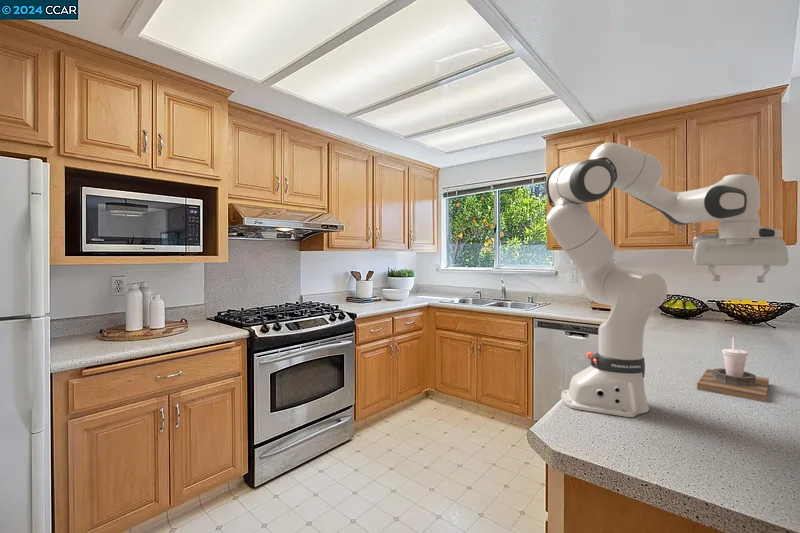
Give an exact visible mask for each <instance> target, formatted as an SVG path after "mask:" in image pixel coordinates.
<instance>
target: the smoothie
mask: <svg viewBox="0 0 800 533" xmlns="http://www.w3.org/2000/svg"><path fill="white" fill-rule="evenodd" d="M735 340H736V339H735V336H732V345H731V346H732V348H723V349H722V350H721V354H723V362H724V369H725V370H726V375H731V376H737V377H743V373H744V372H745V371H744V370H745V366H746V360H747V356H749V353H748V351H746V350H743V349H742V350H741V349H736V346H735V345H736V344H735V342H736V341H735Z"/></svg>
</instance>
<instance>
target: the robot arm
mask: <svg viewBox="0 0 800 533" xmlns="http://www.w3.org/2000/svg"><path fill="white" fill-rule="evenodd" d="M663 167H664V166H663V163H662V162H661V160H659V159H658V158H657V157H656V156H654V155H652V154H650V153H648V152H645V151H643V150H641V149H638V148H635V147H631V146H629V145H625V144H620V143H615V142H604V143H602V144H600V145H598V146H597V147H596V148H595V149H593V151H592V152H591V154H590V157H589V158H588V159H586V160H581V161H580V160H579V161H573V162H570V163H569V162H568V163H566V164H564V165H563V164H562V165H560V166H558V167H556V168H554V169H553V170H552V171H550V173H549V174H548V175H547V177H545V178H546V179H545V182H544V188H545V193H546V195H547V199H548V204H549V205H550V206H551V207H552V208H550V210H549V212H548V213H547V215H546V224H547V226H548V229H549V231H550V233H551V235H552V236H553V237H554V240H556V242H557V243H558V245H559V246H560V248H562V250H563V251H564V253H565V254H566V255H567V256H568V258H569V259H570V260H571V262H572V263H573V264H574V265H575V267H576V268H577V269H578V272H579V273H580V275H581V278H582V279H581V283H580V287H581V288H580V289H581V291H582V294H583V295H584V296H585V298H587V299H588V300H590V301H592V302H595V303H597V304H600V305H605V306H610V307H611V308H610V312H609V315H608V317H607V320H605V321H603V322H602V323H601V324H600V325H599V326H598V330H597V331H598V336H597V337H598V344H597V346H598V347H597V350H598V351H597V352H596V353H595V354H594V353H593V352H592V351H588V352H587V353H586V357H587V359H588V360H590V365H589V366H587V367H586V368H584V369H583V370H581V371H579V372H577V373H576V374H574V375H573V376H572V377H571V379H570V383H569V388H568V389H564V390H562V391H561V394H560V398H561V400H562V399H563V400H562V402H563V404H565V406H567V407H569V408H571V409H573V410H582V411H586V412H593V413H599V414H605V415H613V416H619V417H626V418H634V417H637V415H640V414H644V413H648V412H649V410H650V406H649V402H648V400H647V396H646V395H647V394H646V391H645V390H646V389H645V382H644V378H645V375H646V374H645V373H646V363H645V358H644V355H643V354H644V333H645V329H646V324H647V322H648V320H649V318H650V316H651V314H652V313H653V312H654V311H655V310H656V309H657V308H660V306H662V305H663V303H665V300H666V298H667V296H668V286H667V283H666V281H665V279H664V278H663V276H661V275H660V274H658V273H656V272H652V271H649V270H645V269H642V268H641V269H640V268H623V267H620V266H619V265H617V264H616V262H615V261H614V258H613V257H614V255H615V252H616V247H615V244H614V243H613V241H612V240H611V239H610V238H609V237H608V235H607V234H606V233H605V231H604V230H603V228H601V226H600V225H599V223H597V221H596V220H595V219H594V218H593V216H591V213H590V210H589V207H588V203H593V202H597V201H599V200H601V199H603V198H604V197H606V196H608V193H610V191H611V190H612V188H613V189H617V190H619V191H622V192H624V193H626V194H628V195H630V196H631V197H632V198H633V199H636V200H638V201H639V202H641V203H643V204H645V205H647V206H649V207H651V208H653V209H655V210H656V211H659V212H660V213H661V214H662V215H664V217H665V218H666V219H668V221H669V222H671V223H673V224H675V225H677V226H686V225H690V224H695V223H696V224H698V223H704V222H713V221H718V233H707V234H706V233H702V234H701V233H700V234H699V235H697V236H695V237H694V238H693V239H692V247H693V248H694V253H693V263H694V264H695V265H696V266H708V267H707V268H708V269H707V270H708V271H709V272H710V273H711V274H712V276H713V277H712V280H713V282H721V274H717V273H716V272H715V270H716V266H758V267H759V266H762V270H764V272H762V274H761V275H757V276H756V279H757V280H756V282H757V283H763V284H764V283H765V279H766V278H765V277H766V276H767V274H768V273H769V272H770V270H771V266H772V267H773V266H774V267H776V266H777V267H778V266H779V267H781V266H782V267H783V266H787V265H788V264H789V261H790V260H789V258H790V257H789V252H788V251H789V250H788V247H787V243H786V242H785V241H784V240H783V239H781V238H782V237H783V231H782V230H781V229H778V228H773V227H770V226H762V225H761V218H760V216H759V212H760V211H759V210H760V207H761V187H760V184H759V181H758V180H759V179H758V178H757V177H756V176H755V175H752V174H748V173H732V174H728V175H725V176H724V177H723V178H722V179H721V180H719V181H717V182H716V183H714V184H710V185H708V186H706V187H701V188H697V189H691V190H686V191H671V190H669V189H667V188H666V187H664V186H662V185H660V183H661V181H662V178H663V174H664V168H663ZM568 393H569V394H568Z"/></svg>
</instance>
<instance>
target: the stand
mask: <svg viewBox="0 0 800 533" xmlns="http://www.w3.org/2000/svg"><path fill="white" fill-rule="evenodd" d="M769 382H770V379H769V377H768V378H767V377H762V376H756V375H755V374H754V373H752V372H747V371H744V373H743V377H737V376H731V375H726V370H725V368H714V369H711V368H710V369H709V368H707V369H706V370H705V371H704V373H703V374H702V376H701V377H700V379H699V380H698V382H696V390H700V391H704V392H709V393H710V392H711V393H716V394H721V395H725V396H730V397H737V398H741V399H747V400H753V401H757V402H762V403H763V402H764V403H767V400H768V391H769Z"/></svg>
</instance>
